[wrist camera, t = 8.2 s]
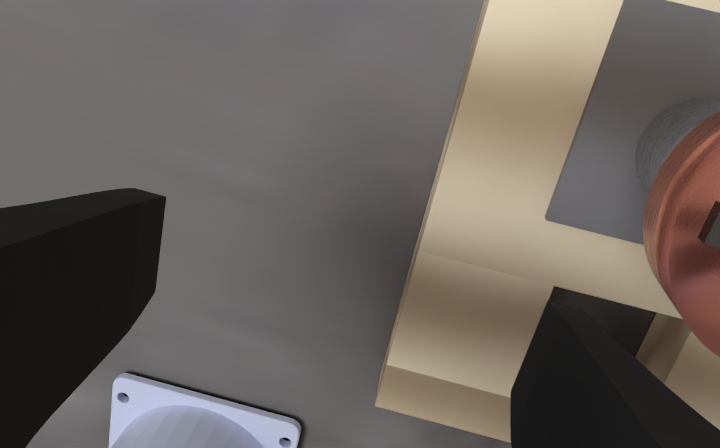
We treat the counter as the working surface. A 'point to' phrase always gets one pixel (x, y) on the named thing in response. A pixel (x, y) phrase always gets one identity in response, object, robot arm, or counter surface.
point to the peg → (685, 211)
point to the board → (547, 202)
